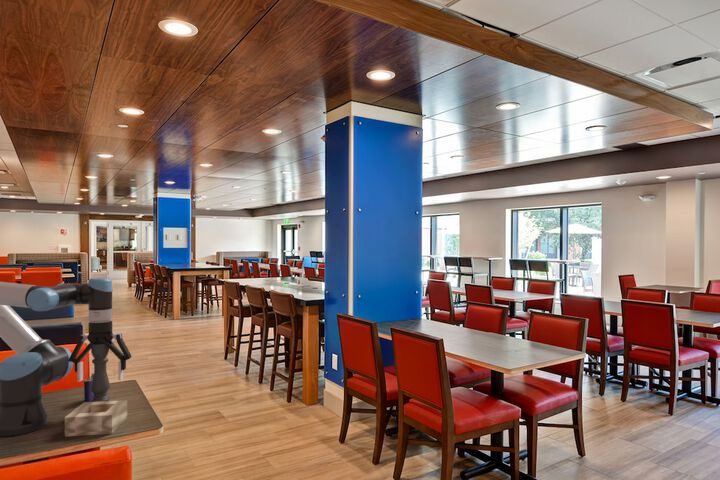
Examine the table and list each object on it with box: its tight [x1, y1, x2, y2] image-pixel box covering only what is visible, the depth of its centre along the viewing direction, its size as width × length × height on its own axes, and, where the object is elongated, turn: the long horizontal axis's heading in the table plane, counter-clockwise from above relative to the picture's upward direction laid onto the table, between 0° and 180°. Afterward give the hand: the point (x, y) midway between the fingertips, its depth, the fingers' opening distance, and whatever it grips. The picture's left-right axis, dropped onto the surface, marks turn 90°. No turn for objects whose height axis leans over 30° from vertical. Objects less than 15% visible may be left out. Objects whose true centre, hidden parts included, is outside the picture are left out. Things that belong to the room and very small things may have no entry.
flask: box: [83, 372, 94, 403], centre depth 180 cm, size 9×3×11 cm, turn 1°
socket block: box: [64, 399, 128, 437], centre depth 155 cm, size 14×14×6 cm
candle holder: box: [90, 344, 111, 402], centre depth 167 cm, size 6×6×25 cm
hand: (100, 380), depth 167 cm, fingers open, 13 cm apart
